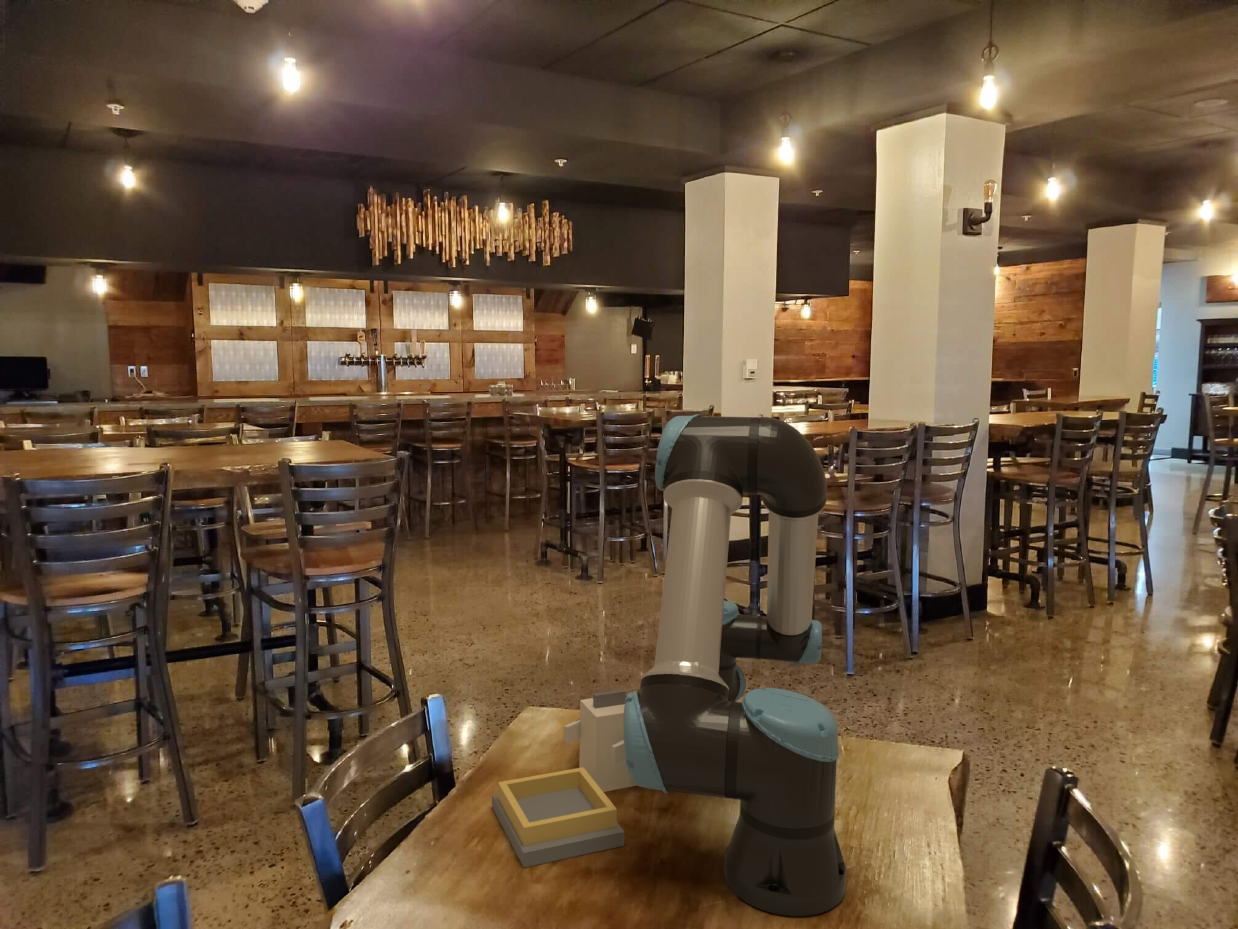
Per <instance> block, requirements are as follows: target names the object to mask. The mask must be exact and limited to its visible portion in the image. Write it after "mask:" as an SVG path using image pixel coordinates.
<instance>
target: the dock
mask: <svg viewBox="0 0 1238 929" xmlns="http://www.w3.org/2000/svg"><path fill="white" fill-rule="evenodd" d="M491 808H492V810H493V812H494V814H495V815H496V818H497V820H498V821H499V823H500V826H501V827H502V830H503V831H504V833H505V836H506V837H507V839H508V841H509V843H510V844H511V846H512V847H511V848H513V851H514V852H515V855H516V856H517V859H518V860H519V862H520V863H521V864H520V865H521V867H523V868H524V869H525V868H528V867H533V866H538V865H539V866H540V865H542V864H548V863H552V862H556V861H561V860H565V859H569V858H574V857H578V856H579V857H580V856H583V855H589V854H592V853H596V852H597V853H598V852H601V851H605V850H606V851H607V850H611V849H616V848H621V847H624V846H625V830H624V829H623V827H622V826H621V825H620V824H619V822H618V809H617V807H616V806H615V805H614V804H613V802H612V801H611V800H610V799H609V797H608V796H607V795H606V793H605V792H603V791H602V790H601V789H600V787H599V786H598V785H597V784H596V782H595V781H594V780H593V779H592V777H591V776H590V775H589V774H588V772H587V771H586V770H585V769H584V767H581V768H579V767H577V768H576V767H575V768H571V769H565V770H560V771H554V772H548V773H544V774H543V773H542V774H536V775H532V776H526V777H520V778H516V779H515V778H514V779H509V780H504V781H499V782H497V793H494V794H491Z"/></svg>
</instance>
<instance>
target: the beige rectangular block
mask: <svg viewBox="0 0 1238 929" xmlns="http://www.w3.org/2000/svg"><path fill="white" fill-rule="evenodd" d="M626 696H627V694H626V690H624V689H616V690H610V691H603V692H596V693H593V695H592V697H590V698H585V699H579V719H580V739H579V761H578V763H579V766H578V768H581V767H584V769H585V770H586V771H587V772H588V774H589V775H590V776H591V777H592V779H593V780H594V781H595V782H596V784H597V785H598V786H599V787H600V789H601V790H602V791H603V792H604V793H606V792H610V791H611V792H612V791H616V790H622V789H627V788H633V787H636V786H637V787H639V786H638V785H636V784H635V783H634V782H633V781H632V779H631V778H630V776H629V773H628V770H627V765H626V760H624V761H622V762H620V763H618V764H616V765H614V764H611V746H612V745H614V744H616V743H619V742H621V741H623V740H624V706H625V703H626Z"/></svg>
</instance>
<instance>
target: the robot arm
mask: <svg viewBox="0 0 1238 929" xmlns="http://www.w3.org/2000/svg"><path fill="white" fill-rule="evenodd" d="M654 478H655V479H654V481H655V485H656V486H655V487H656V488H657V489H658V490H659V491H662V492H663V500H664V501H665V503H666V504H667V505H668V506H669V508H671V517H670V526H669V534H668V542H667V551H666V552H667V553H666V562H665V569H664V570H665V571H664V578H663V587H662V594H661V596H662V597H661V603H660V614H659V621H658V629H657V640H656V647H655V648H656V649H655V654H654V655H655V656H654V664H653V667H652V668H651V669H649V670H648V671H647V672H646V673H644V674H643V675H642V676H641V679H640V685H639V686H640V687H639V690H634V691H630V692H629V693H627V694H626V703H625V706H624V740H623V741H621V742H619V743H616V744H614V745H612V746H611V764H614V765H616V764H618V763H620V762H622V761H624V760H626V765H627V770H628V773H629V776H630V778H631V779H632V781H633V782H634V783H635V784H636V785H638V786H637V787H641V788H645V789H650V790H651V789H652V790H657V791H662V792H663V793H664V794H668V792H674V793H681V794H688V795H689V794H690V795H697V796H706V797H714V798H721V799H730V800H737V801H740V804H739V816H738V819H737V821H736V824H735V827H734V829H733V831H732V835H731V839H730V842H729V844H728V845H727V847H726V850H725V851H724V852H725V854H724V862H723V876H724V880H725V883H726V884H727V887H728V888H729V890H730V891H731V892H732V893H733V894H734V895H735V896H737V898H739V899H740V900H741V901H743V902H745V903H746V904H748V905H750V906H752V907H754V908H757V909H758V910H760V911H765V912H768V913H772V914H777V915H781V916H787V915H788V916H789V917H808V916H814V915H819V914H822V913H824V912H828V911H830V910H831V909H833V908H835V907H836V906H838V905H839V904H840V903H841V901H843V899H844V897H845V895H846V890H847V868H846V864H845V860H844V856H843V853H842V850H841V847H840V843H839V839H838V836H837V833H836V832H837V831H836V828H835V817H836V816H835V815H836V812H835V811H836V790H837V789H836V788H837V784H836V783H837V760H838V759H839V758H840V756H839V755H840V748H839V734H838V733H839V731H838V728H839V727H838V723H837V719H836V717H835V716H834V715H833V713H832V712H831V710H829V709H828V707H826V706H825V705H823V704H822V703H820V702H819V701H817V700H815V699H814V698H812V697H809V696H807V695H804V694H802V693H799V692H795V691H792V690H788V689H782V688H776V687H764V688H763V689H762V688H754V689H751V690H750V691H748V692H747V693H746V691H747V679H746V677H745V674H744V671H743V669H742V668H741V667H740V666H739V665H738V664H737V659H749V660H760V661H761V660H763V661H772V662H782V663H790V664H817V663H819V661H820V660H821V658H822V644H823V625H822V623H821V621H819V620H817V619H816V620H815V619H813V605H814V604H813V602H814V592H815V591H814V587H815V575H816V557H817V542H818V541H817V540H818V528H819V525H818V524H819V514H820V513H821V512H822V511H823V510H824V509H825V507H826V504H827V491H828V490H827V487H828V484H827V477H826V473H825V470H824V467H823V464H822V461H821V459H820V457H819V455H818V454H817V452H816V450H815V448H814V447H813V445H812V444H811V443H810V441H808V439H807V438H806V437H805V436H804V435H803V434H802V432H800V430H798V429H796V428H795V427H794V426H792V425H790V424H789V423H787V422H785V421H783V420H780V419H778V418H775V417H768V416H760V417H755V416H754V417H753V416H752V417H751V416H720V415H719V416H717V415H716V416H714V415H713V416H711V415H709V416H708V415H702V414H699V413H698V414H693V415H677V416H674V417H672V418H671V419H670V420H669V421H668V422H667V423H666V424H665V426H664V427H663V430H662V433H661V435H660V439H659V443H658V447H657V452H656V463H655V469H654ZM744 495H745V496H748V495H751V496H758V495H759V496H762V505H763V506H764V508H765V509H767V511H768V531H767V532H768V533H767V534H768V537H767V542H768V543H767V582H766V583H767V588H766V591H767V592H766V616H762V615H748V614H740V611H739V607H738V605H737V604H736V603H735V602H733V601H731V600H725V595H726V583H727V582H726V581H727V571H728V570H727V568H728V559H729V558H728V556H729V555H728V554H729V544H730V530H731V520H732V515H733V514H734V513H735V512H737V511H738V510H740V508H742V505H743V497H744ZM745 693H746V694H745ZM744 695H745V696H744ZM742 697H744V698H742ZM741 698H742V702H739V701H738V700H740V699H741ZM577 740H580V718H579V719H577V720H574V721H572V722H569V723H567V724H564V726H563V743H564V744H566V745H569V744H570V743H573V742H575V741H577Z"/></svg>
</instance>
